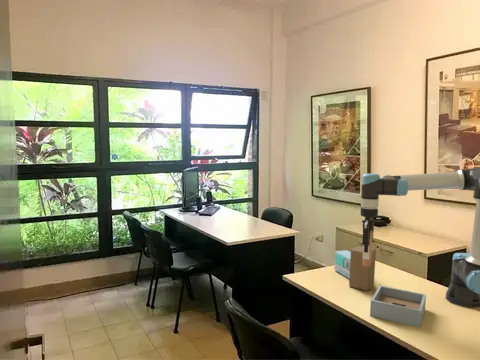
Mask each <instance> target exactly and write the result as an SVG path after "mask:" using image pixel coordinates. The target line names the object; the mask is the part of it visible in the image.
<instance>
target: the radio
mask: <svg viewBox="0 0 480 360" xmlns="http://www.w3.org/2000/svg"><path fill="white" fill-rule="evenodd" d="M360 245H361V243H358V246H360ZM350 257H351V251H349V250H346V249H343V250H335V251H334V271H336V272H337V273H339V274H340V275H342V276H344V277H346V278H347V279H348V280H349V279H350Z"/></svg>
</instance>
